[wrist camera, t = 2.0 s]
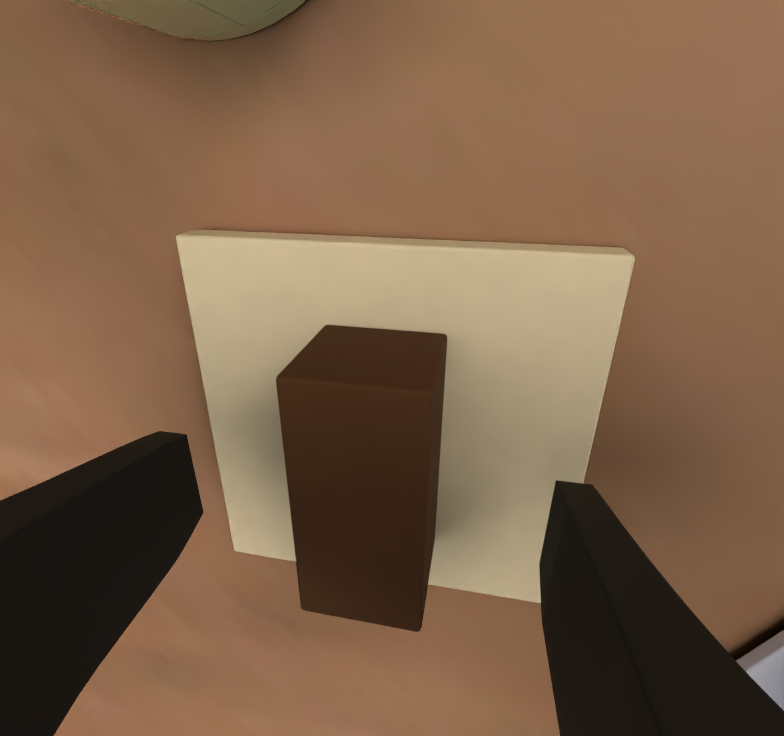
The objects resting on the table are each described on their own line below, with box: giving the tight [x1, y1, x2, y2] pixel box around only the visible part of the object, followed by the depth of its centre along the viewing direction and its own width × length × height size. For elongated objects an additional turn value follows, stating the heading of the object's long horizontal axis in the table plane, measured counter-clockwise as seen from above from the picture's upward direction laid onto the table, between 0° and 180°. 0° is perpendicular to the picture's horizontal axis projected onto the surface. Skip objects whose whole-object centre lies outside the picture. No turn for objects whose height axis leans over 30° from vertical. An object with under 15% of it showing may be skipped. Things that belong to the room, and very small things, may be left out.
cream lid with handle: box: [176, 229, 635, 632], centre depth 10 cm, size 9×9×3 cm
